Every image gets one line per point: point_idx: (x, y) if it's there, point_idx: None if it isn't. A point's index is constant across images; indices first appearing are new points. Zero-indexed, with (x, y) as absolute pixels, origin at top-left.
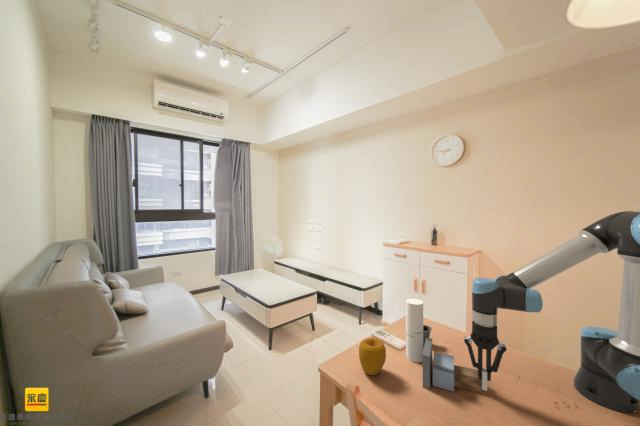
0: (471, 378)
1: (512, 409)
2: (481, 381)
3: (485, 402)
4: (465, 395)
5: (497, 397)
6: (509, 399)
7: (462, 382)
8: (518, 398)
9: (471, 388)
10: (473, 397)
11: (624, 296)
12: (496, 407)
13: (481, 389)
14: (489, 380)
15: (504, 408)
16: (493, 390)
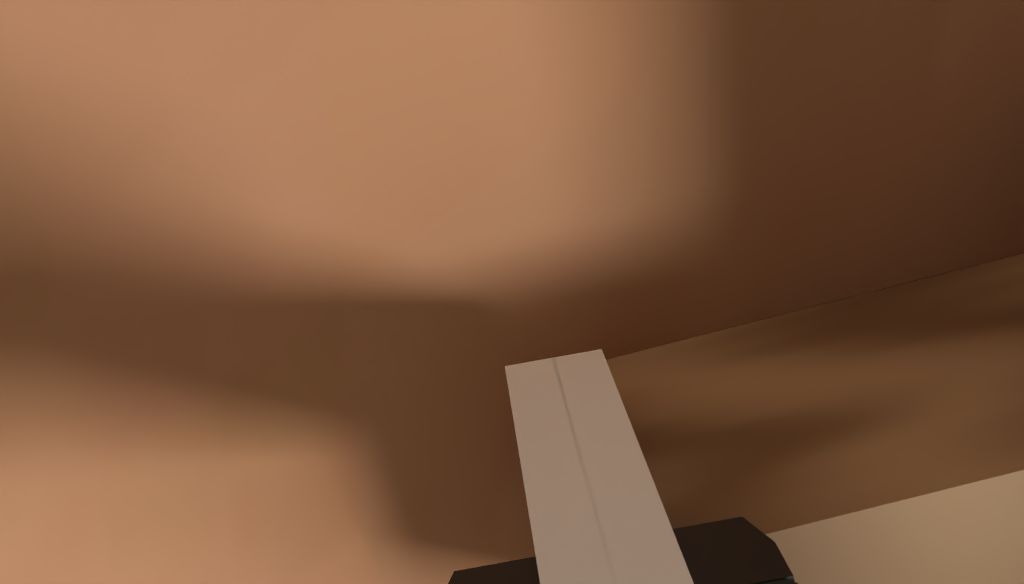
0: (898, 452)
1: (18, 186)
2: None
3: (514, 68)
4: (904, 42)
5: (319, 382)
6: (125, 456)
7: (1011, 322)
8: (2, 575)
9: (787, 327)
10: (746, 81)
11: None
12: (298, 40)
13: None
14: (471, 578)
15: (155, 114)
16: (404, 535)
